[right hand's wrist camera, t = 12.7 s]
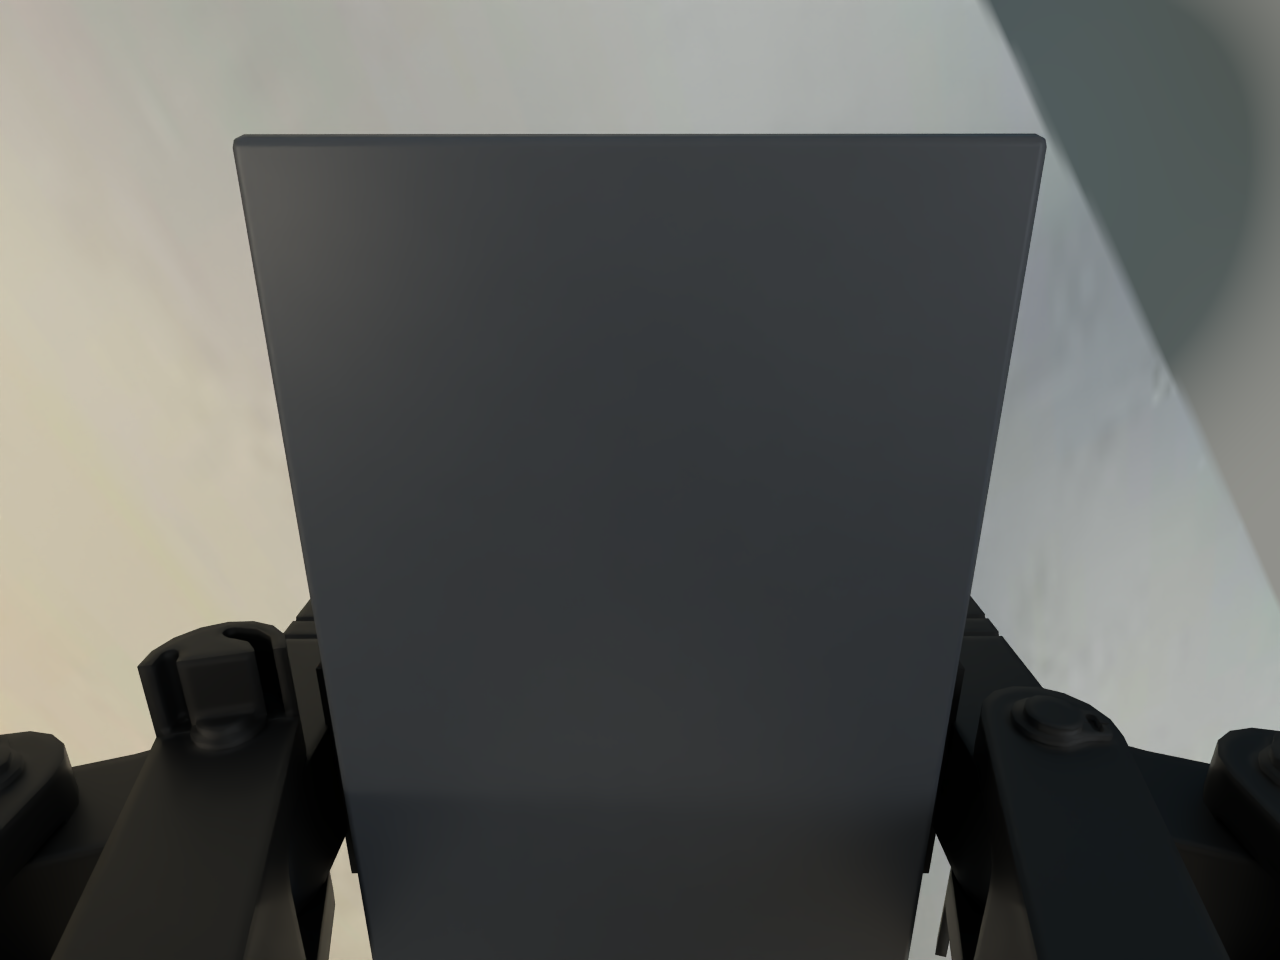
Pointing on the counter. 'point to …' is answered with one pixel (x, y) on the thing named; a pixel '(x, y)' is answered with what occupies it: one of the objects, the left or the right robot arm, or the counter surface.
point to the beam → (639, 518)
